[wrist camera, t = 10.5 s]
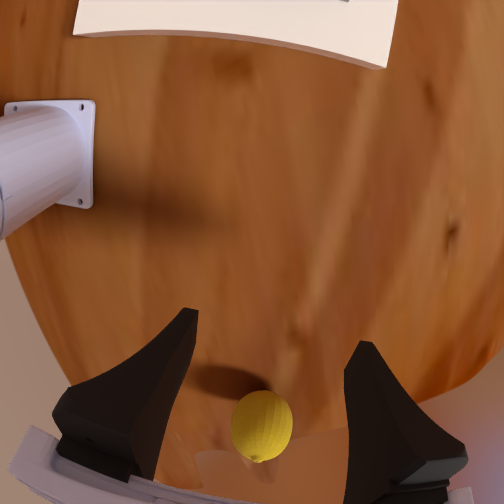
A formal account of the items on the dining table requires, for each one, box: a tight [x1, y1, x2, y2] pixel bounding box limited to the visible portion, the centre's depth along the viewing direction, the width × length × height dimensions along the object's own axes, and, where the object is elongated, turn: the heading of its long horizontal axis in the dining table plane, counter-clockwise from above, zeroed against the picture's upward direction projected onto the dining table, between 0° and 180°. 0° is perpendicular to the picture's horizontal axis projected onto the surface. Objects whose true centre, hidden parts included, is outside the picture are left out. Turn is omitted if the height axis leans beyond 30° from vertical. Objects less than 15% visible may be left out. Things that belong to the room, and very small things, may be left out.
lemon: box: [231, 390, 292, 463], centre depth 26 cm, size 6×6×8 cm
